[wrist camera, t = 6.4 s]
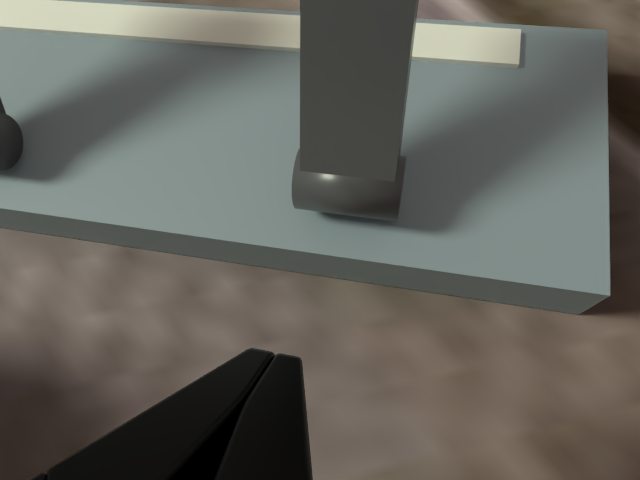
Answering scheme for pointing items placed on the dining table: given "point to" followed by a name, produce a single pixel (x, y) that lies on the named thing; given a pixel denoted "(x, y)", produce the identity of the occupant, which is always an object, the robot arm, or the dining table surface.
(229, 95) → the switch panel
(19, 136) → the on lever
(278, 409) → the robot arm
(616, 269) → the dining table surface
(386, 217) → the lever
